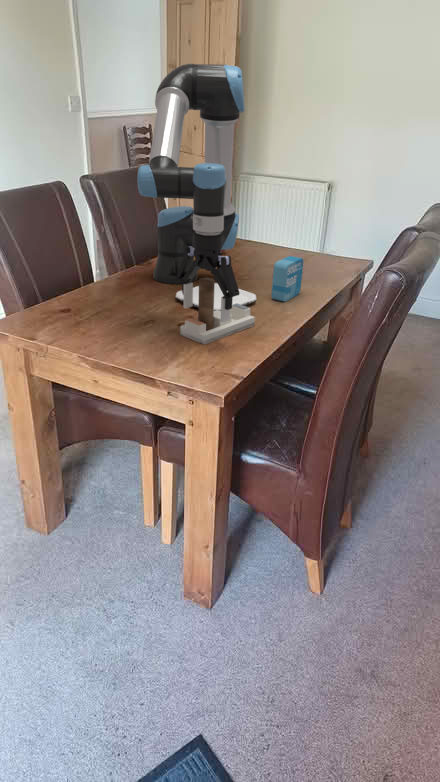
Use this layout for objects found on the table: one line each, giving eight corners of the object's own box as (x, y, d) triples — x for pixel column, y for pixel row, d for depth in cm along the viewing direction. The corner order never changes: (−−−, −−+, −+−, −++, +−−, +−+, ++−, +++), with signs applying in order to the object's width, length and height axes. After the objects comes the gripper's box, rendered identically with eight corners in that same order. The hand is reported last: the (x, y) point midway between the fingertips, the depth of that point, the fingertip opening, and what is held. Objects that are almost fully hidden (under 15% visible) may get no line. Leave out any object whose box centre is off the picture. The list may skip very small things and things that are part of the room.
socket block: (180, 334, 151) (180, 317, 149) (230, 316, 164) (231, 301, 162) (204, 344, 145) (204, 327, 143) (254, 325, 159) (255, 309, 156)
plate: (216, 287, 189) (216, 281, 188) (262, 303, 176) (263, 296, 175) (169, 300, 176) (169, 293, 175) (215, 318, 163) (215, 311, 162)
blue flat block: (283, 303, 176) (287, 265, 171) (270, 300, 178) (273, 262, 173) (300, 293, 185) (304, 257, 180) (288, 290, 187) (291, 254, 182)
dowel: (194, 331, 151) (195, 279, 144) (205, 327, 153) (206, 276, 147) (205, 335, 148) (207, 283, 142) (216, 331, 151) (217, 280, 145)
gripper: (162, 225, 144) (163, 304, 154) (235, 243, 129) (231, 330, 139) (183, 221, 148) (183, 298, 158) (256, 238, 134) (251, 323, 144)
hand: (206, 313), depth 149 cm, fingers open, 13 cm apart
